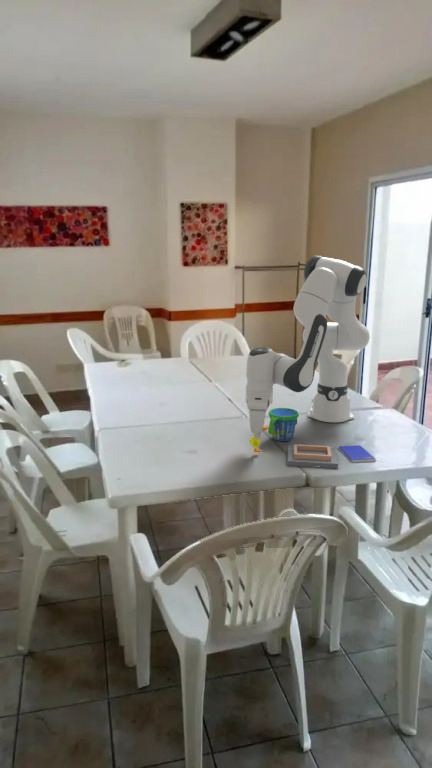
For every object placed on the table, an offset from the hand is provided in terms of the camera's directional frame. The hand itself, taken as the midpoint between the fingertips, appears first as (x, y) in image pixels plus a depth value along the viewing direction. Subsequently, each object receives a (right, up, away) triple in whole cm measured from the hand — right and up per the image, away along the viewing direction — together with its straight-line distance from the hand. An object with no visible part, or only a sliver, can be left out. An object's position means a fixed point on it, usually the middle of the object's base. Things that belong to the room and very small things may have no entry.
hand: (258, 436), depth 188 cm
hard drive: (+34, -7, +3) cm, 34 cm away
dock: (+18, -7, -1) cm, 19 cm away
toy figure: (0, -5, +1) cm, 5 cm away
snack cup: (+10, -2, +18) cm, 21 cm away
